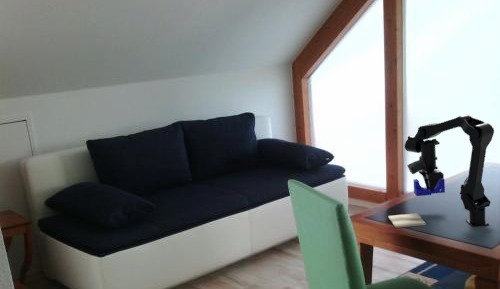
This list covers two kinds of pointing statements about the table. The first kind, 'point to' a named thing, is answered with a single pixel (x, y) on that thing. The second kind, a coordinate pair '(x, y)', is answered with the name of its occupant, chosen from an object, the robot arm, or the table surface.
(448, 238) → the table surface
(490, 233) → the table surface
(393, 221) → the pad
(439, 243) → the table surface
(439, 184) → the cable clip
